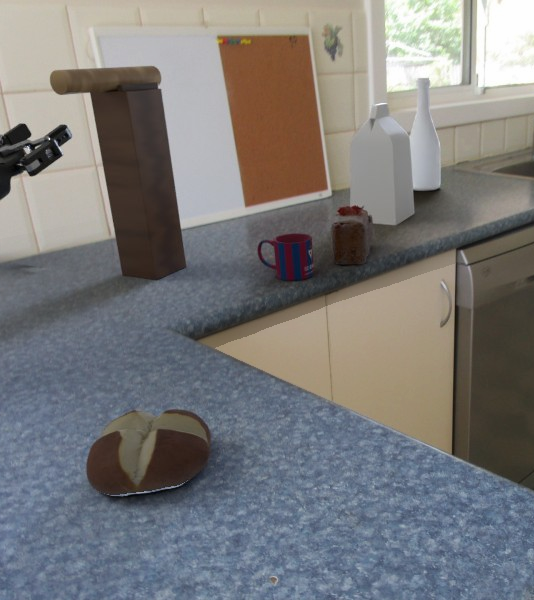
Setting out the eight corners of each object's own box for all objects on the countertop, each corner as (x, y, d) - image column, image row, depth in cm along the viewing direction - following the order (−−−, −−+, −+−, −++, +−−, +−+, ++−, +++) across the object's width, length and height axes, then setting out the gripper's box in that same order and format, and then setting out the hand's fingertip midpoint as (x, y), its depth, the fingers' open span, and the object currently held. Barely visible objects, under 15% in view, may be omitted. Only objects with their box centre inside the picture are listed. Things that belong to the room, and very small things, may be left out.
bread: (72, 504, 59) (61, 457, 58) (122, 435, 70) (114, 393, 68) (197, 502, 59) (189, 454, 57) (227, 433, 70) (222, 391, 68)
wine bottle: (447, 187, 190) (447, 77, 180) (426, 192, 184) (425, 79, 173) (421, 183, 196) (420, 77, 186) (400, 188, 190) (398, 78, 179)
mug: (304, 282, 115) (301, 244, 112) (253, 277, 118) (249, 240, 115) (320, 270, 121) (317, 234, 118) (271, 266, 124) (267, 231, 121)
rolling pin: (70, 89, 100) (60, 66, 99) (56, 98, 101) (46, 75, 101) (164, 82, 117) (155, 62, 116) (151, 90, 118) (142, 70, 118)
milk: (395, 225, 151) (393, 106, 142) (350, 221, 155) (345, 106, 146) (414, 213, 161) (413, 102, 152) (371, 210, 165) (367, 101, 156)
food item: (335, 245, 136) (332, 198, 132) (374, 244, 136) (372, 197, 133) (330, 266, 123) (327, 214, 120) (373, 265, 123) (371, 213, 120)
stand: (156, 280, 118) (125, 85, 106) (122, 275, 121) (88, 84, 109) (186, 267, 124) (160, 82, 113) (153, 262, 127) (125, 82, 116)
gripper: (-19, 168, 83) (69, 106, 94) (-91, 164, 89) (-1, 105, 99) (14, 217, 88) (94, 152, 99) (-56, 210, 94) (27, 149, 104)
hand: (47, 129), depth 99 cm, fingers open, 8 cm apart
